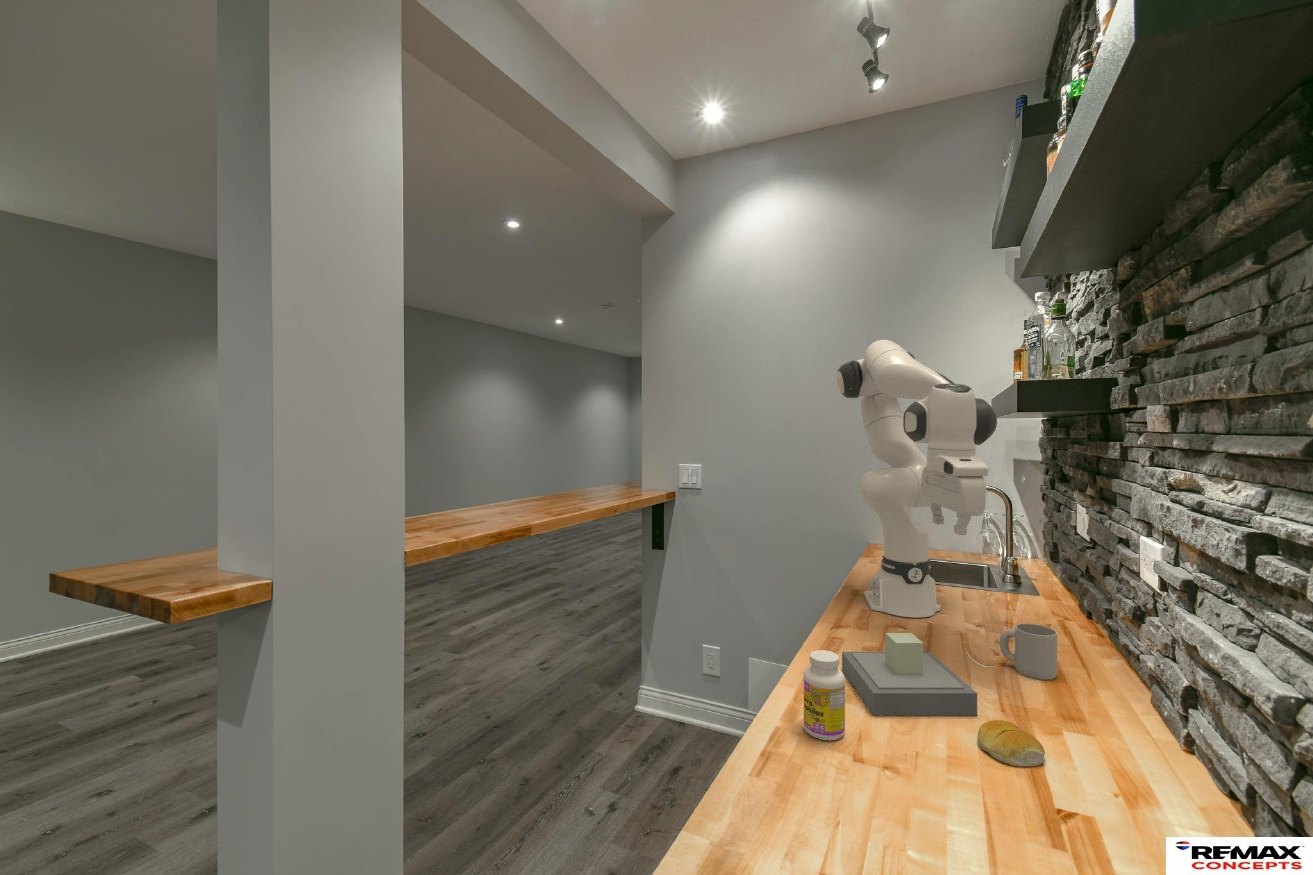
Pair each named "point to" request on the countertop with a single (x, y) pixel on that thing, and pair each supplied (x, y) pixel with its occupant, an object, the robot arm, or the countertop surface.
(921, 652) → the sage block
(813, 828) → the countertop surface
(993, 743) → the bread roll
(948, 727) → the countertop surface
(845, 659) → the tray
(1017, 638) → the cup
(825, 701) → the supplement bottle
